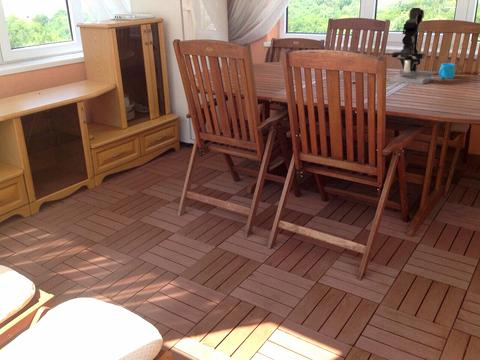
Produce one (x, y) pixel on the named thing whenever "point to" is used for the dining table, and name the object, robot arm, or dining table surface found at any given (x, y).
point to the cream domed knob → (407, 66)
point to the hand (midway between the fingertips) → (407, 69)
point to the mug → (447, 70)
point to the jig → (412, 77)
